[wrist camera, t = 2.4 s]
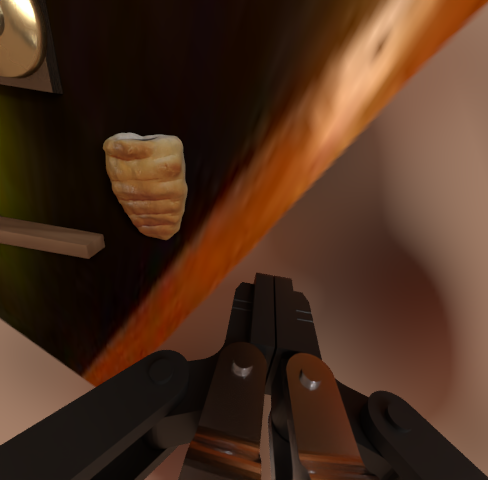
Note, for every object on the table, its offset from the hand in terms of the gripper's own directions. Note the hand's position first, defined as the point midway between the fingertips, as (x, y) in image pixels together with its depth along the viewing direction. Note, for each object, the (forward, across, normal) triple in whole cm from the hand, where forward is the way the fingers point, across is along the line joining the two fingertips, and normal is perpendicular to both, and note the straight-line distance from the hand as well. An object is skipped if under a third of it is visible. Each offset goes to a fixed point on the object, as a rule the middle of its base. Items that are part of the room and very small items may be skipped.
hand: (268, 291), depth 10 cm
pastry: (+13, +10, 0) cm, 17 cm away
